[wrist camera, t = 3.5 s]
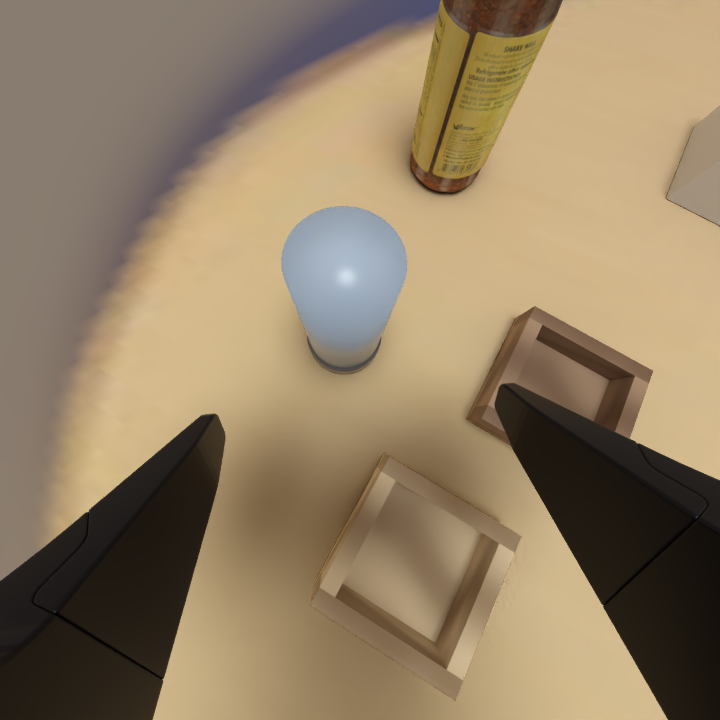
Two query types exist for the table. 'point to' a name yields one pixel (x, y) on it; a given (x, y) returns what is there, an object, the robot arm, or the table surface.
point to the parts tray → (700, 171)
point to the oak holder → (416, 574)
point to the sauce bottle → (473, 84)
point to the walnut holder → (564, 374)
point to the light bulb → (344, 283)
